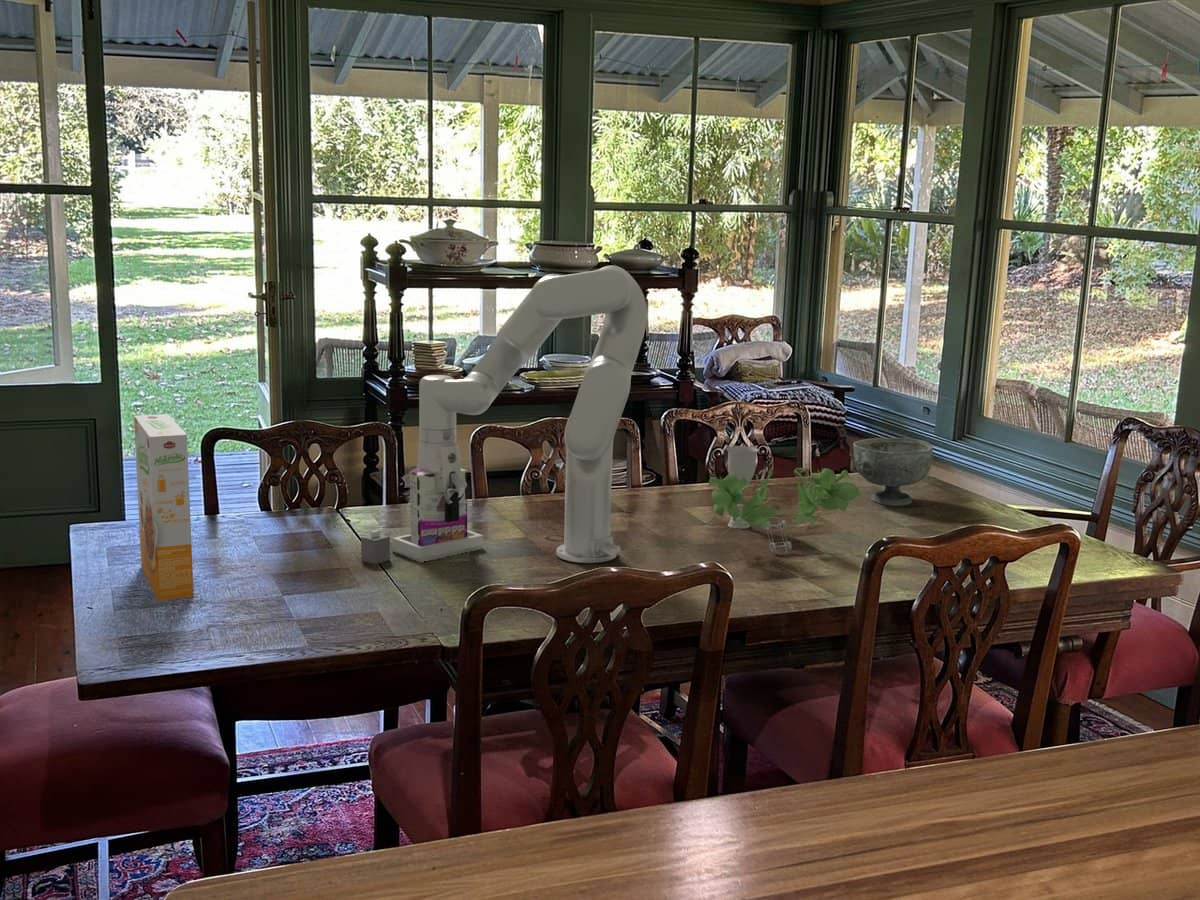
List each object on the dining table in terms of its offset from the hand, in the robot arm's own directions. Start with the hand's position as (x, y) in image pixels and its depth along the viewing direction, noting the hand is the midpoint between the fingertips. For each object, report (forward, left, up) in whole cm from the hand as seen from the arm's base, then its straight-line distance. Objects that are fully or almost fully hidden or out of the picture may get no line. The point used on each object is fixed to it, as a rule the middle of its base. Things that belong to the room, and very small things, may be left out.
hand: (437, 516), depth 255 cm
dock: (0, 0, -7) cm, 7 cm away
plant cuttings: (-42, -58, -7) cm, 72 cm away
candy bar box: (0, 0, -7) cm, 7 cm away
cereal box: (+15, +52, -7) cm, 55 cm away
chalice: (-26, -66, -7) cm, 71 cm away
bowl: (-34, -115, -7) cm, 120 cm away
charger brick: (+2, +14, -7) cm, 16 cm away
